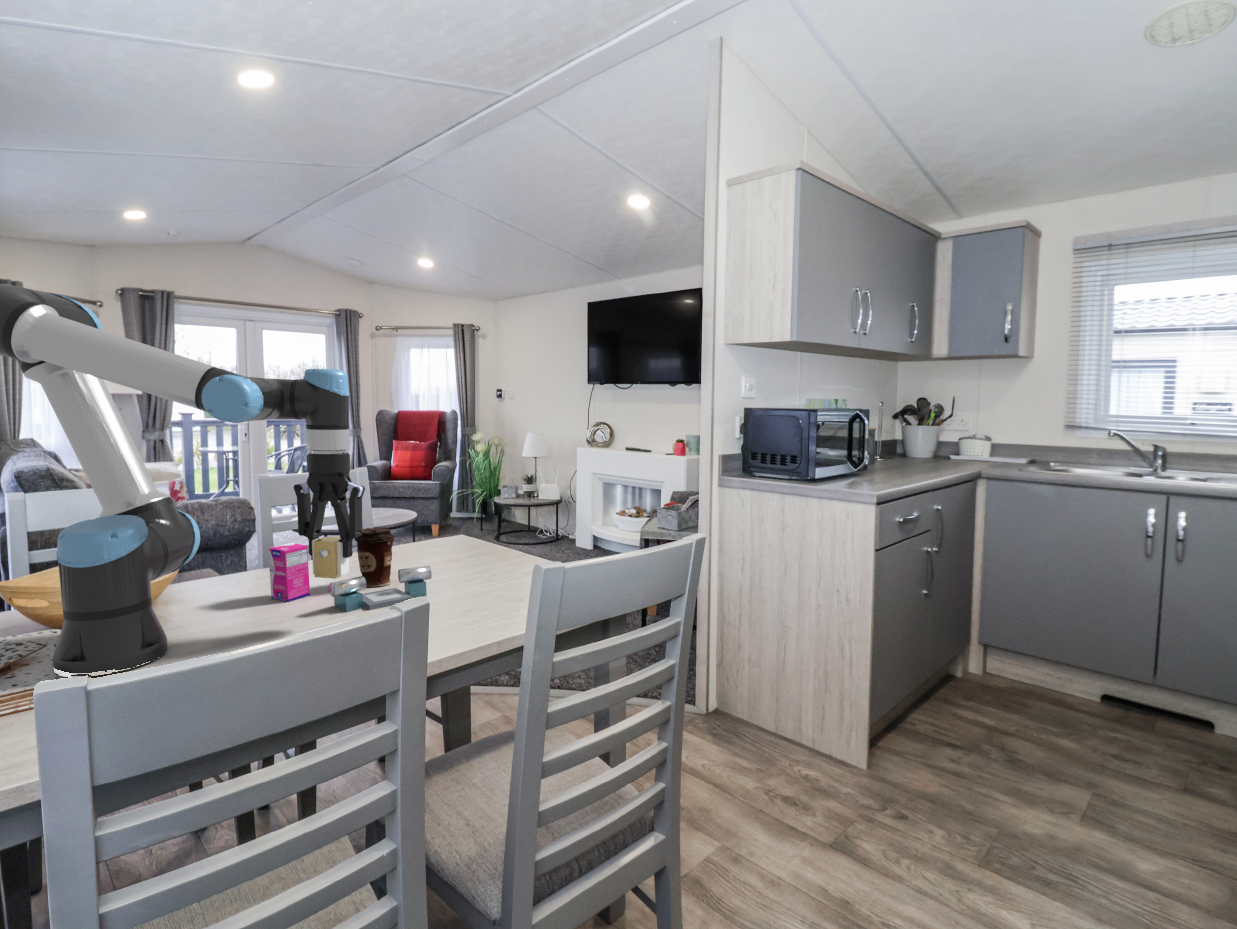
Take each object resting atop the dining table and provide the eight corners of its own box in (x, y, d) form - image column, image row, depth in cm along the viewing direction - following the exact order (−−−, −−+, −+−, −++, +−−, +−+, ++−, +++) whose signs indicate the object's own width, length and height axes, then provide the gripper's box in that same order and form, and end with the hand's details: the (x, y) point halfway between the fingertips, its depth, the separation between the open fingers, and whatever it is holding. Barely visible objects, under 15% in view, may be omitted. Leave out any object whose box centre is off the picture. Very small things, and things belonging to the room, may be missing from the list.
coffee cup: (369, 591, 149) (366, 534, 147) (349, 585, 154) (346, 530, 152) (402, 582, 155) (400, 528, 154) (382, 577, 160) (380, 524, 159)
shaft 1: (339, 613, 133) (338, 584, 132) (327, 609, 136) (326, 580, 135) (369, 606, 138) (368, 578, 137) (357, 601, 141) (356, 574, 140)
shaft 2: (402, 599, 142) (401, 572, 142) (397, 593, 147) (396, 567, 146) (433, 594, 146) (432, 568, 145) (427, 589, 150) (426, 563, 149)
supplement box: (269, 598, 143) (266, 547, 142) (294, 591, 148) (291, 542, 147) (287, 602, 141) (284, 550, 139) (311, 595, 146) (308, 544, 145)
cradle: (369, 609, 135) (369, 604, 135) (354, 599, 142) (354, 595, 142) (411, 601, 141) (411, 596, 141) (395, 592, 148) (395, 587, 148)
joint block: (333, 579, 123) (332, 543, 122) (311, 578, 123) (310, 541, 123) (350, 572, 128) (349, 536, 127) (329, 570, 129) (328, 535, 128)
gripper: (381, 451, 126) (383, 571, 128) (299, 449, 129) (302, 565, 131) (359, 454, 118) (362, 581, 121) (273, 451, 121) (276, 575, 123)
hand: (331, 572), depth 126 cm, fingers closed on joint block, 4 cm apart
